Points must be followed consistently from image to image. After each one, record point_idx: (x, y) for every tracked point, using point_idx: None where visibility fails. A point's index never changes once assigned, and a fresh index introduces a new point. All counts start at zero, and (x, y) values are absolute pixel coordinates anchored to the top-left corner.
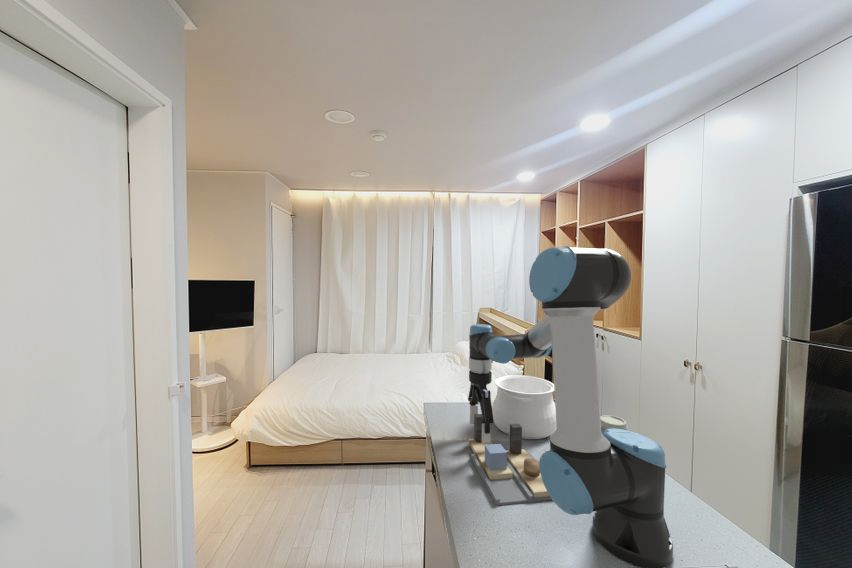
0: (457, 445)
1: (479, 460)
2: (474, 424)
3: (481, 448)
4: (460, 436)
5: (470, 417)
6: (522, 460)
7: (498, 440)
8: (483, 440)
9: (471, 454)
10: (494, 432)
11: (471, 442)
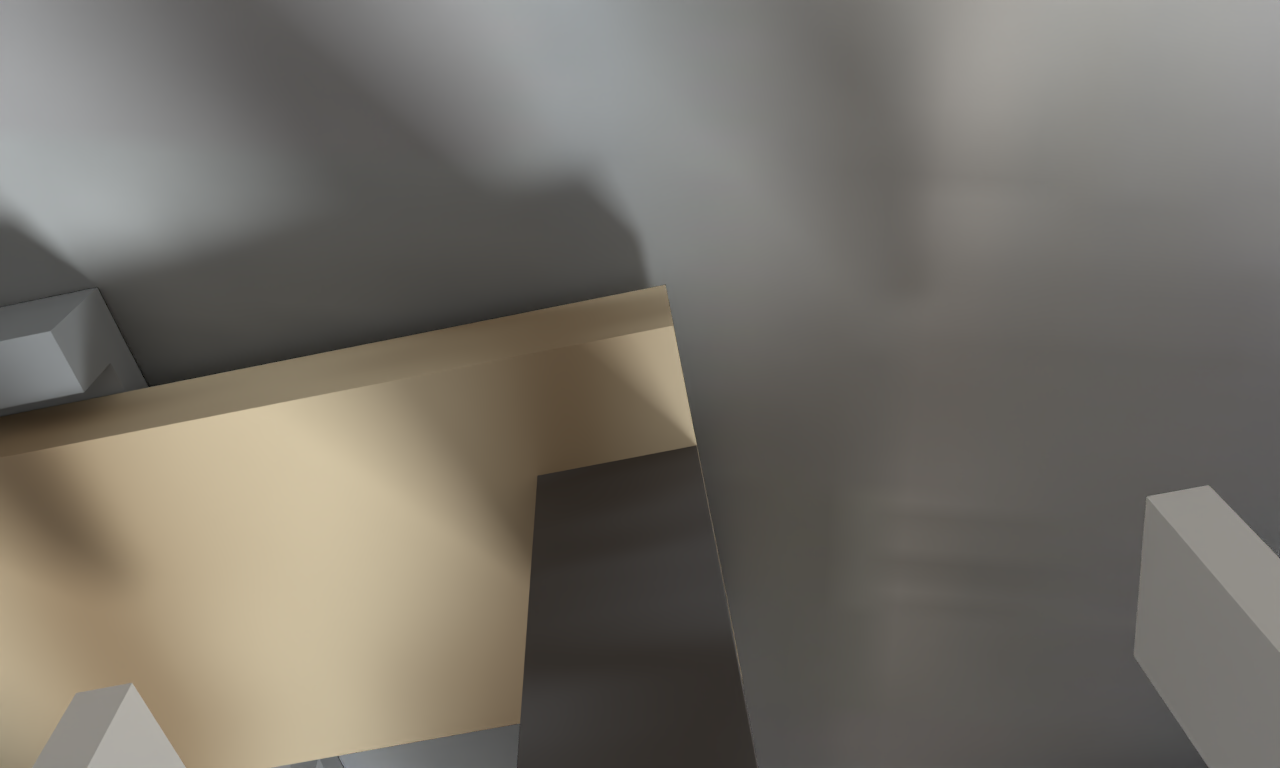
0: (637, 12)
1: None
2: (728, 718)
3: (277, 551)
4: (1081, 112)
5: (1272, 644)
6: None
7: (840, 741)
8: (56, 762)
9: (33, 334)
10: (1123, 716)
11: (515, 381)
